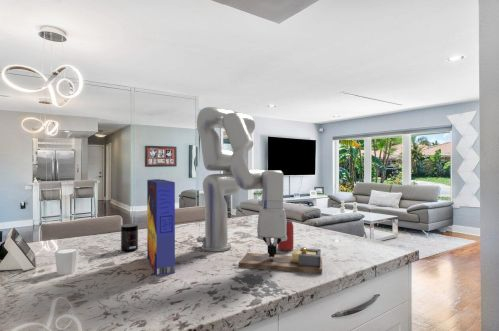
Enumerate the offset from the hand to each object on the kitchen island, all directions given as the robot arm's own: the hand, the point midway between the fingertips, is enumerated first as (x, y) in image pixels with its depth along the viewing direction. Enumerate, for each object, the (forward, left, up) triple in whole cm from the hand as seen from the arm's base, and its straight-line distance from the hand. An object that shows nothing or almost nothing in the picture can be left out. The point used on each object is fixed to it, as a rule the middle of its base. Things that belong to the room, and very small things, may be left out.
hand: (272, 255), depth 106 cm
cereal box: (-39, -10, -3) cm, 40 cm away
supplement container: (-61, +3, -3) cm, 61 cm away
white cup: (-65, -24, -3) cm, 69 cm away
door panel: (+3, 0, -3) cm, 4 cm away
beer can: (+2, +20, -3) cm, 20 cm away
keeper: (+13, 0, -1) cm, 13 cm away
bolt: (+11, 0, -1) cm, 11 cm away
